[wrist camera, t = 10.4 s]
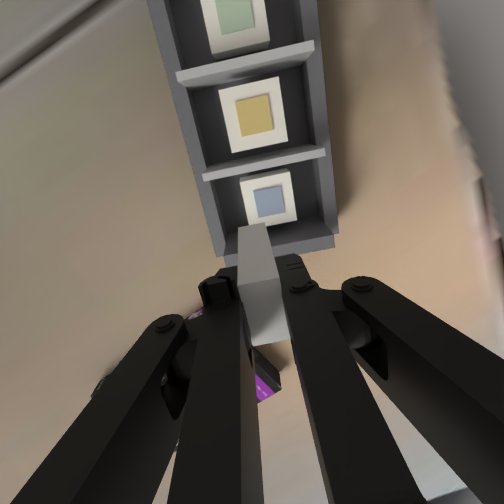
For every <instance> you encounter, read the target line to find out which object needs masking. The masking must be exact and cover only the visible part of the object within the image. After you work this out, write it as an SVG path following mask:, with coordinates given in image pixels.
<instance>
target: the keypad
mask: <svg viewBox="0 0 504 504" xmlns="http://www.w3.org/2000/svg"><path fill="white" fill-rule="evenodd" d="M264 3H265V9H266V16H267V23H268V29H269V36H270V43H269V46H268V49H263V50H259V51H255V52H251V53H246V54H242V55H238V56H233V57H229V58H225V59H221V60H216V61H215V60H214V58H213V56H212V52H211V48H210V43H209V39H208V34H207V29H206V25H205V20H204V15H203V11H202V6H201V2H200V0H147V4H148V8H149V11H150V15H151V19H152V23H153V26H154V30H155V34H156V37H157V41H158V45H159V48H160V52H161V56H162V59H163V63H164V67H165V70H166V74H167V78H168V81H169V85H170V89H171V92H172V96H173V100H174V103H175V107H176V111H177V114H178V118H179V122H180V125H181V129H182V133H183V136H184V140H185V144H186V147H187V151H188V155H189V159H190V162H191V166H192V170H193V173H194V177H195V181H196V184H197V188H198V192H199V195H200V199H201V203H202V206H203V210H204V214H205V217H206V221H207V225H208V228H209V232H210V236H211V239H212V243H213V247H214V250H215V254H216V257H220V256H223V257H224V260H225V264H226V268H227V267H232V266H237V265H238V227H243V226H248V225H249V223H248V219H247V214H246V210H245V205H244V200H243V196H242V191H241V186H240V178H241V177H246V176H250V175H255V174H260V173H265V172H269V171H274V170H279V169H284V168H287V169H288V170H289V171H290V176H291V183H292V189H293V196H294V203H295V209H296V216H297V220H296V221H291V222H286V223H281V224H276V225H271V226H266V229H267V233H268V236H269V240H270V244H271V247H272V251H273V255H274V257H277V256H282V255H287V254H292V253H295V254H297V255H298V254H303V253H309V252H314V251H319V250H324V249H329V248H335V242H334V234H338V233H339V228H338V217H337V207H336V197H335V186H334V176H333V165H332V155H331V144H330V134H329V123H328V113H327V102H326V92H325V82H324V71H323V61H322V50H321V40H320V29H319V19H318V8H317V0H264ZM278 76H279V83H280V90H281V96H282V103H283V110H284V117H285V124H286V130H287V137H288V141H286V142H281V143H277V144H272V145H268V146H263V147H258V148H254V149H249V150H244V151H240V152H235V153H232V151H231V147H230V142H229V137H228V133H227V128H226V124H225V119H224V114H223V110H222V105H221V101H220V96H219V92H218V90H221V89H226V88H230V87H234V86H239V85H243V84H248V83H252V82H256V81H261V80H265V79H269V78H274V77H278Z"/></svg>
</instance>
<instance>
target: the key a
mask: <svg viewBox="0 0 504 504" xmlns="http://www.w3.org/2000/svg"><path fill="white" fill-rule="evenodd" d="M200 2H201V6H202V11H203V15H204V20H205V25H206V29H207V34H208V39H209V43H210V48H211V52H212V56H213V58H214V60H215V61H216V60H221V59H225V58H229V57H233V56H238V55H242V54H246V53H251V52H255V51H259V50H263V49H268V46H269V43H270V36H269V29H268V23H267V16H266V9H265V3H264V0H200Z"/></svg>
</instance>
